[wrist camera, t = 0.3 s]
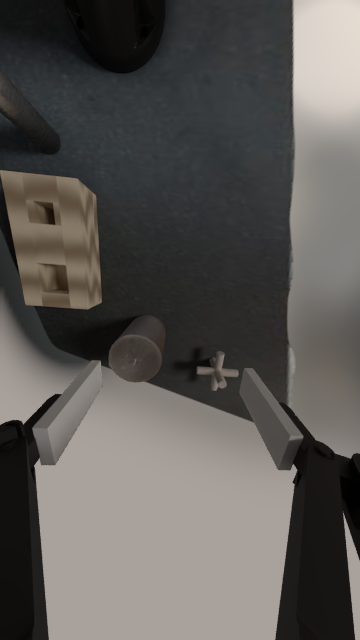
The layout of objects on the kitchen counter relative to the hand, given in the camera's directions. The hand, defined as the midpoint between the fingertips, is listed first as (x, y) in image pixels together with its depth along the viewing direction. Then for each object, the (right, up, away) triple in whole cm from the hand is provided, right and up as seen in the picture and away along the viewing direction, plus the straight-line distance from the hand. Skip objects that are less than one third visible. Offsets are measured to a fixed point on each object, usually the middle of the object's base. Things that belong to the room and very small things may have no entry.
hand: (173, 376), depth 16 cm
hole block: (-23, +20, +22) cm, 38 cm away
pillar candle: (-8, +2, +28) cm, 29 cm away
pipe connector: (+10, -6, +31) cm, 33 cm away
